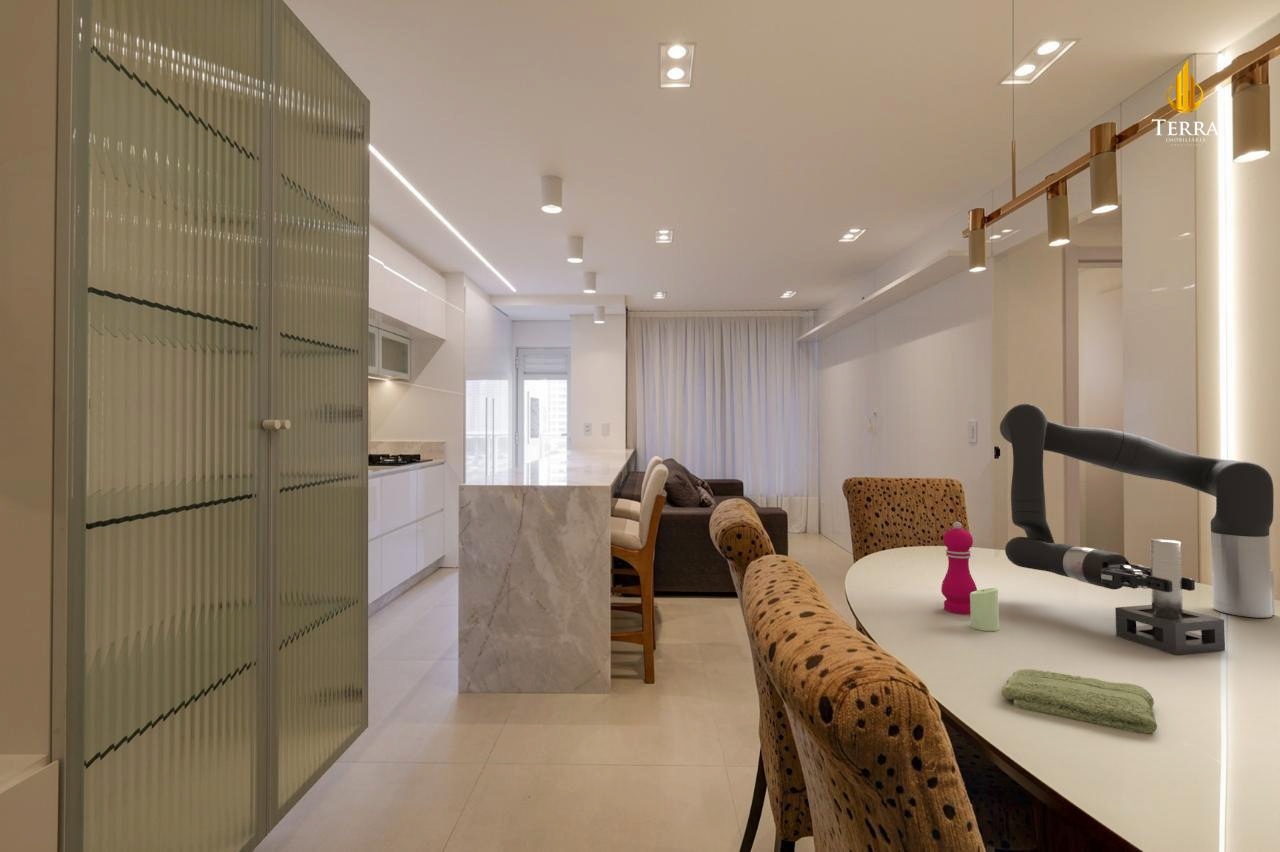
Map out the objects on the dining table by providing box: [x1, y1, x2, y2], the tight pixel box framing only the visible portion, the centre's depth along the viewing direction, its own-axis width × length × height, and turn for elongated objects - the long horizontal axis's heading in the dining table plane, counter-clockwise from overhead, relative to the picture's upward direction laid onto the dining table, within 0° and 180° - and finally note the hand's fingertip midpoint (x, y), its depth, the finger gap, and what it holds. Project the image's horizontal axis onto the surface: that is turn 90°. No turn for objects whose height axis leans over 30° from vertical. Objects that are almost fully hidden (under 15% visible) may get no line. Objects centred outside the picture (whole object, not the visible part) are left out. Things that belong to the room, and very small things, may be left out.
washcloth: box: [1001, 668, 1158, 734], centre depth 88 cm, size 13×18×3 cm
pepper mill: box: [940, 521, 978, 615], centre depth 137 cm, size 7×7×20 cm
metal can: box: [1149, 538, 1184, 639], centre depth 114 cm, size 5×5×18 cm
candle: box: [970, 587, 1000, 632], centre depth 125 cm, size 5×5×8 cm
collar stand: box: [1114, 604, 1226, 656], centre depth 114 cm, size 11×11×6 cm
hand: (1181, 585), depth 112 cm, fingers open, 4 cm apart
